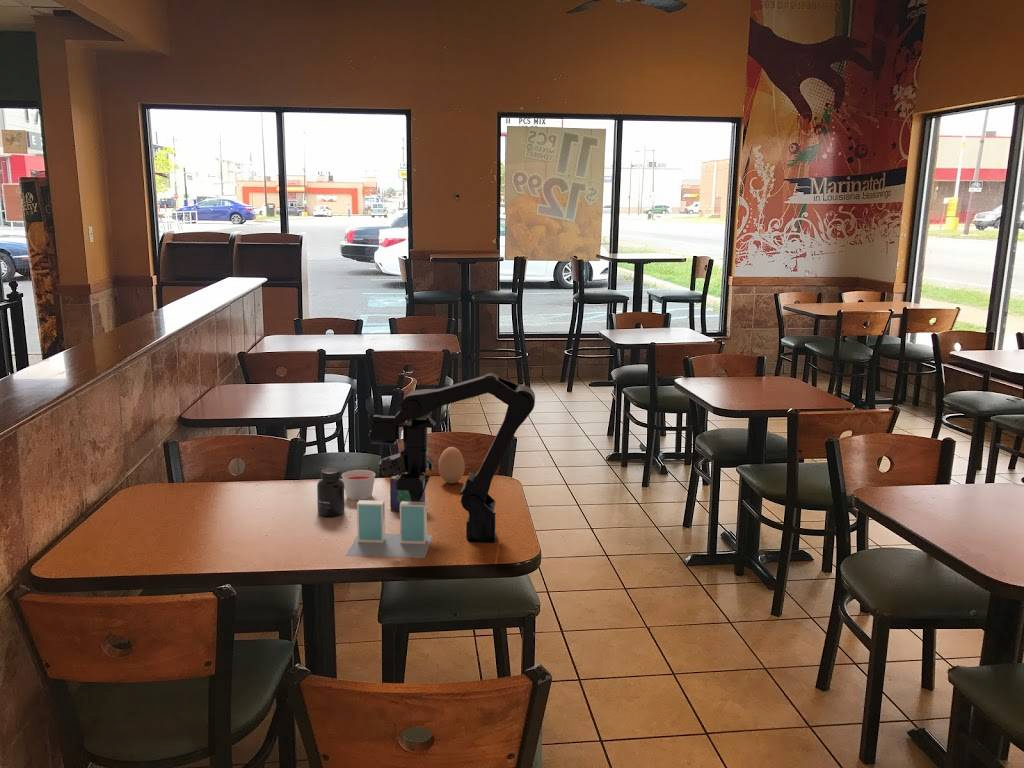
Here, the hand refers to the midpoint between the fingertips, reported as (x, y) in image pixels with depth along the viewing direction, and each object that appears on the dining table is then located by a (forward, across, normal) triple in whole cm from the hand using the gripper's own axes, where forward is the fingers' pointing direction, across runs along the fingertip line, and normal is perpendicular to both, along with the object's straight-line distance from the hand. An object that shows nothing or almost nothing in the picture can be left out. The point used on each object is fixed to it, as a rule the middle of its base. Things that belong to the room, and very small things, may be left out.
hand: (415, 507), depth 207 cm
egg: (+8, -43, +4) cm, 44 cm away
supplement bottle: (+8, -14, -24) cm, 29 cm away
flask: (+8, -19, -5) cm, 21 cm away
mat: (+8, +7, -5) cm, 11 cm away
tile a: (+7, +4, 0) cm, 8 cm away
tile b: (+7, +4, -10) cm, 13 cm away
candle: (+8, -29, -20) cm, 36 cm away
